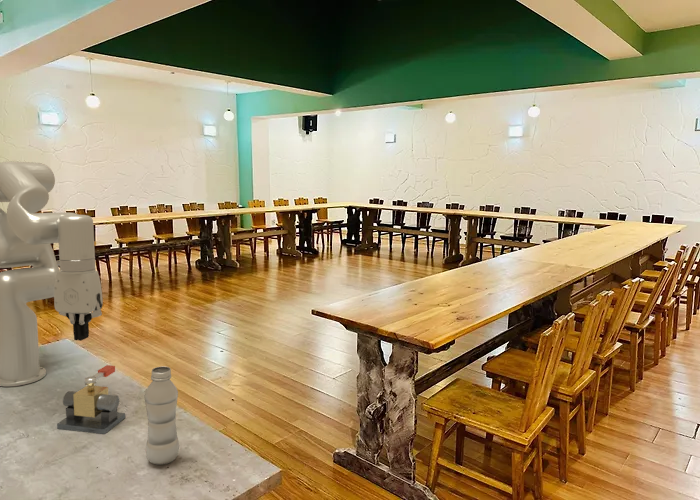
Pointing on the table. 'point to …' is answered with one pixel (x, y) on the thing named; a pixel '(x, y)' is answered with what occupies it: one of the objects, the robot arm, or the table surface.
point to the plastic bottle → (161, 417)
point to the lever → (100, 374)
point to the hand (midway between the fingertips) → (81, 338)
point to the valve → (91, 410)
